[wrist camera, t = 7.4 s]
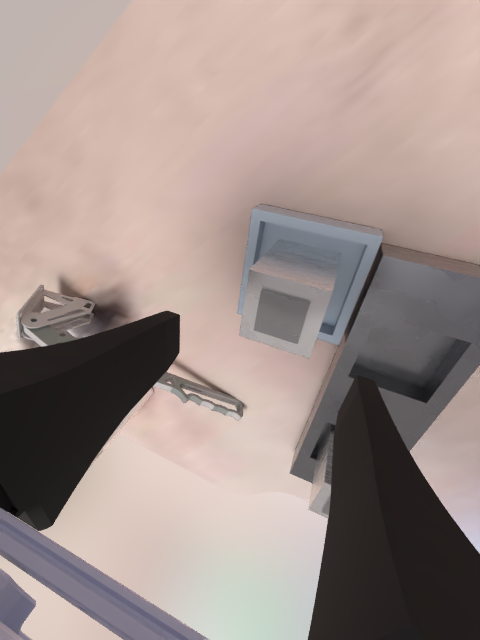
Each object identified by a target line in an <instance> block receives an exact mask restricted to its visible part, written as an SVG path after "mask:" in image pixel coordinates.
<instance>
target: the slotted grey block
mask: <svg viewBox="0 0 480 640" xmlns="http://www.w3.org/2000/svg"><path fill="white" fill-rule="evenodd" d="M334 432H335V425H333V424H330V423H328V425H327V427H326V429H325V431H324V433H323V435H322V437H321V439H320V441H319V446H318V452H317V458H316V465H315V471H314V477H313V484H312V490H311V496H310V503H309V510H311V511H313V512H315V513H317V514H319V515H322V516H324V517H326V518H328V517H329V509H330V497H331V477H332V456H333V439H334Z"/></svg>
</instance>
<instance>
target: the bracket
mask: <svg viewBox="0 0 480 640" xmlns="http://www.w3.org/2000/svg"><path fill="white" fill-rule="evenodd" d="M44 296H47V297H49V298H51V299H53V300H56V301H58V302H60V303H62V304H65V306H62V305H58V304H54V303H50V302H46V301H44ZM63 298H66V299H70V300H72V302H70V301H67V300H65V299H63ZM88 303H89V304H92V305H91V307H90V309H88V308H86V307H84V306H85V305H86V304H88ZM94 306H95V303H94V302H92V301H89V300H85V299H81V298H78V297H74V298H73V297H70V296H66V295H62V294H58V293H54V292H51V291H47V290H44V285H40V286H39V287H38V289H37V290H36V291H35V292H34V293H33V295H32V296H31V297H30V298H29V300H28V301H27V302H26V303H25V304H24V306H23V307H22V308H21V309H20V310H19V312H18V313H17V315H16V322H17V332H18V338H22V337H23V336H24V337H25V338H26V339H29V340H34V341H36V342H37V343H38V344H39V345H40V346H42V347H43V346H48V345H54V344H59V343H64V342H68V341H72V340H77V338H75V337H73V336H72V335H71V334H70V333H69V332H68V331H66V330H69V329H73V328H76V327H79V326H82V325H85V324H88V323H90V322H91V320H92V318H93V316H94V314H93V313H92V310H93V308H94ZM44 307H46V308H49V309H51V310H50V311H47V312H44V313H41V311H42V310H43V308H44ZM70 312H71V313H70ZM86 314H90V317H89V319H86V318H83V316H85V315H86ZM61 315H64V316H65V317H62V318H58V319H55V320H51V321H47V320H50V319H53V318H56V317H59V316H61ZM77 320H82V321H84V322H81V323H78V324H75V325H72V326H68V327H65V328H62V329H58V330H57V329H56V328H59V327H61V326H64V325H66V324H69V323H71V322H74V321H77ZM166 382H171V383H172V384H169V383H166ZM154 387H157V388H160V389H163V390H166V391H169V392H171V393H173V394H175V395H177V396H178V397H179V398H180V399H181V400H182V402H183V403H186V402H187V401H188V400H191V401H193V402H195V403H196V404H198V405H199V406H205V407H207V408H209V409H210V410H212V411H217V412H220V413H222V414H223V415H226V416H231V417H233V418H235V419H236V420H237V421H239V420H240V419H241V417H242V416H243V405H242V402H241V401H239V400H237V399H236V398H234V397H232V396H229V395H226V394H224V393H221V392H218V391H216V390H213V389H210V388H208V387H205V386H202V385H200V384H197V383H194V382H192V381H189V380H186V379H184V378H181V377H178V376H176V375H173V374H170V373H168V372H165V374H164V375H163V376H162V377H161V378H160V379H159V380H158V381H157V382H156V384H155V385H154ZM181 388H183V389H186V390H189V391H193V392H196V393H199V394H202V395H205V396H208V397H211V398H214V399H217V400H220V401H223V402H226V403H229V404H232V405H235V406H236V407H237V411H235V410H232V409H228V408H226V407H224V406H222V405H217V404H215V403H213V402H212V401H209V400H206V399H202V398H201V397H199V396H198V395H196V394H188V395H187V394H185V392H184V391H183V390H182V389H181Z"/></svg>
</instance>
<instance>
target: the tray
mask: <svg viewBox="0 0 480 640" xmlns="http://www.w3.org/2000/svg"><path fill="white" fill-rule="evenodd" d="M279 239H283V240H288V241H292V242H296V243H300V244H305V245H309V246H313V247H317V248H322V249H326V250H330V251H334V252H339V253H342V254H341V258H340V262H339V267H338V271H337V275H336V280H335V284H334V288H333V292H332V295H331V298H330V301H329V304H328V307H327V310H326V313H325V316H324V319H323V321H322V324H321V327H320V330H319V333H318V336H317V339H320V340H323V341H326V342H329V343H332V344H336V345H339V343H340V341H341V338H342V336H343V334H344V331H345V329H346V326H347V324H348V321H349V319H350V317H351V314H352V312H353V309H354V307H355V304H356V302H357V300H358V297H359V295H360V292H361V290H362V288H363V285H364V283H365V280H366V278H367V275H368V273H369V271H370V268H371V266H372V263H373V261H374V259H375V256H376V254H377V251H378V249H379V246H380V244H381V242H382V239H383V233H382V230H381V229H377V228H372V227H367V226H363V225H358V224H353V223H349V222H344V221H339V220H334V219H330V218H325V217H320V216H316V215H311V214H306V213H302V212H297V211H292V210H288V209H283V208H278V207H273V206H269V205H264V204H260V205H258V206H256V207H254V208H252V215H251V222H250V229H249V236H248V243H247V250H246V257H245V264H244V270H243V277H242V284H241V291H240V298H239V305H238V312H237V313H238V314H241V315H242V313H243V306H244V300H245V293H246V287H247V280H248V273H249V269H250V268H251V267H252V266H253V265H254V264H255V263H256V262H257V261H258V260H259V259H260V258H261V257H262V256H263V255H264V254H265V253H266V252H267V251H268V250H269V249H270V248H271V247H272V246H273V245H274V244H275V243H276V242H277V241H278V240H279Z"/></svg>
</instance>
